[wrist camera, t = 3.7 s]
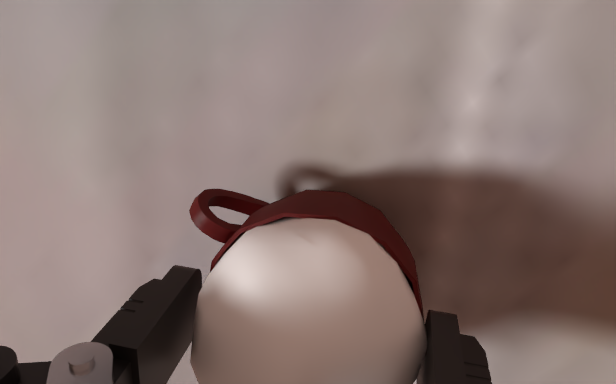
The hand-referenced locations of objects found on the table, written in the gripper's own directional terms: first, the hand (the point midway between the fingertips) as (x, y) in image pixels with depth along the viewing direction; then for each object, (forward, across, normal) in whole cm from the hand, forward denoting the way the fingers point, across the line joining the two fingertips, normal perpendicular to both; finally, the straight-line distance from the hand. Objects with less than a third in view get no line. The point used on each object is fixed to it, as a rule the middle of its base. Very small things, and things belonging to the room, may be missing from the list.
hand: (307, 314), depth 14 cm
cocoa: (+4, 0, 0) cm, 4 cm away
